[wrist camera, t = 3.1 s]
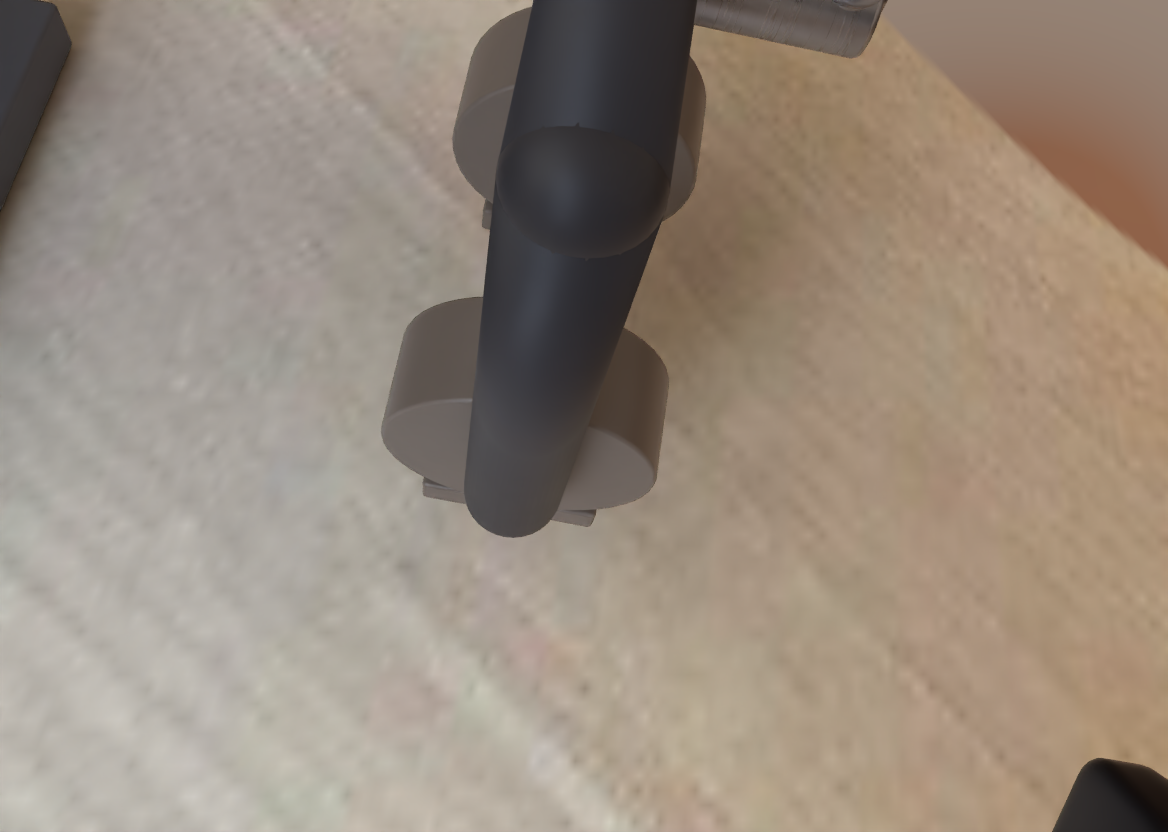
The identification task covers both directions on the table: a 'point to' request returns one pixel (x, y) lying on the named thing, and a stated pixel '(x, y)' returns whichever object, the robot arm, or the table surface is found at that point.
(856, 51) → the hook arm
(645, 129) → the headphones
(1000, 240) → the table surface
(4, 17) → the grey hanging stand
